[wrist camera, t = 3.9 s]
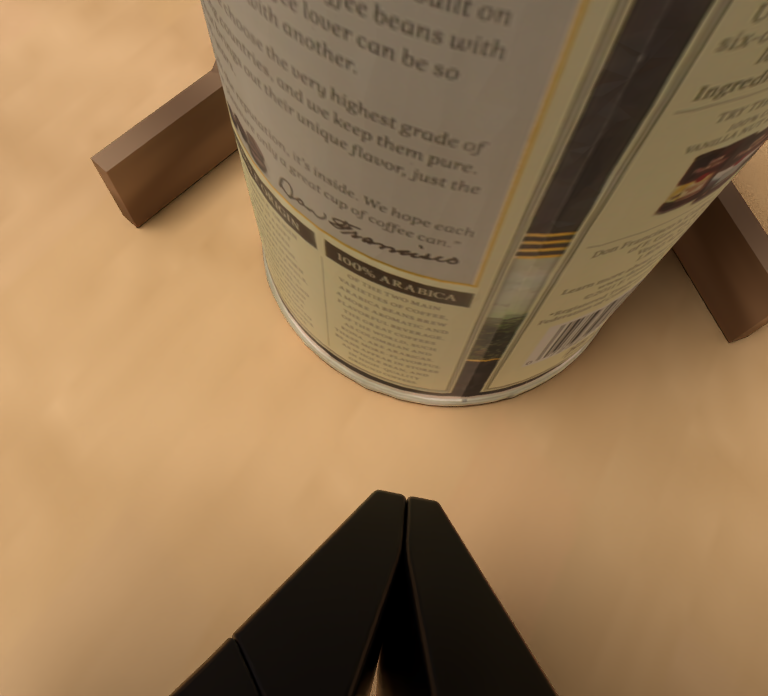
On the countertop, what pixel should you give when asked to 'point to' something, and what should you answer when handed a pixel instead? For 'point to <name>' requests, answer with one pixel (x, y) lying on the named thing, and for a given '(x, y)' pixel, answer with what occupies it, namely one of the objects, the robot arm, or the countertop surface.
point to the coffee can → (479, 169)
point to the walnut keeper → (217, 141)
